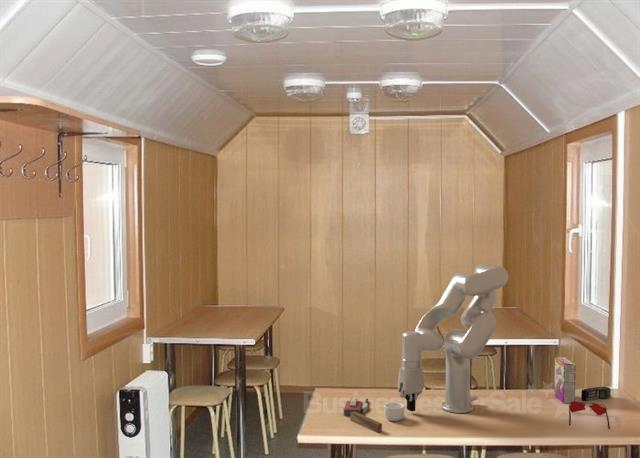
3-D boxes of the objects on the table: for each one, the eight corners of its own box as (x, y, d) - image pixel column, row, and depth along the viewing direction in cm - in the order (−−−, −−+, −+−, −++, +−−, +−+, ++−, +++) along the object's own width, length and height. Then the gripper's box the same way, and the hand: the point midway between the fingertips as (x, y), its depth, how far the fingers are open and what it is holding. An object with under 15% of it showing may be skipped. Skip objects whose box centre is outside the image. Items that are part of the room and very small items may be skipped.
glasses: (606, 416, 253) (607, 403, 253) (610, 431, 238) (610, 417, 237) (568, 412, 258) (568, 399, 258) (568, 426, 242) (569, 413, 242)
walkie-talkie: (365, 419, 250) (369, 402, 270) (365, 408, 250) (369, 392, 270) (342, 418, 252) (348, 401, 272) (342, 406, 252) (348, 391, 271)
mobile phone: (584, 390, 269) (614, 386, 274) (579, 388, 272) (609, 384, 276) (584, 402, 269) (614, 398, 274) (579, 400, 272) (608, 395, 277)
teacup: (404, 423, 245) (404, 409, 245) (383, 422, 246) (383, 408, 246) (404, 414, 255) (404, 400, 255) (384, 413, 256) (384, 399, 256)
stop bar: (354, 419, 250) (354, 411, 249) (381, 431, 236) (381, 423, 236) (350, 420, 248) (350, 412, 248) (377, 432, 235) (377, 424, 235)
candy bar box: (553, 395, 278) (554, 357, 277) (565, 395, 278) (566, 357, 277) (563, 403, 266) (563, 364, 265) (575, 403, 266) (576, 364, 265)
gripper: (418, 358, 262) (418, 404, 263) (390, 364, 253) (390, 411, 254) (432, 362, 255) (431, 409, 257) (403, 368, 247) (403, 416, 248)
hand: (411, 410), depth 255 cm, fingers closed
